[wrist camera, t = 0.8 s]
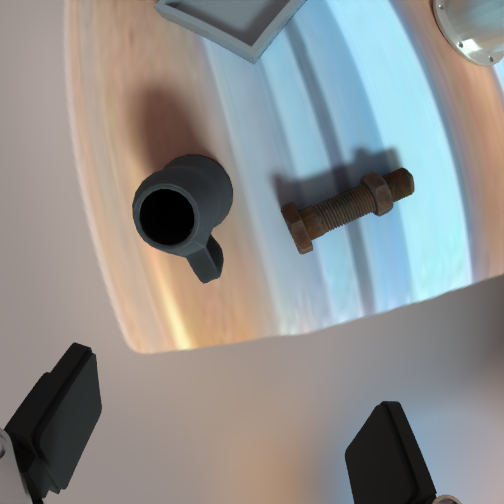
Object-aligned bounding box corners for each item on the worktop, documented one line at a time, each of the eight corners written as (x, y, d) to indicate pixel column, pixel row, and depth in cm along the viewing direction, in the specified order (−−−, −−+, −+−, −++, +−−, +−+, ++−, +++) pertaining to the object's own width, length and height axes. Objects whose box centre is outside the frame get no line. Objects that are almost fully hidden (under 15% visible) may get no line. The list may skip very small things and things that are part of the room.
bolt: (397, 181, 36) (288, 229, 38) (394, 149, 32) (275, 199, 34) (423, 211, 32) (304, 265, 34) (423, 177, 28) (292, 236, 30)
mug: (141, 176, 35) (96, 193, 24) (212, 140, 33) (190, 140, 23) (187, 266, 38) (163, 313, 28) (257, 236, 37) (256, 276, 26)
